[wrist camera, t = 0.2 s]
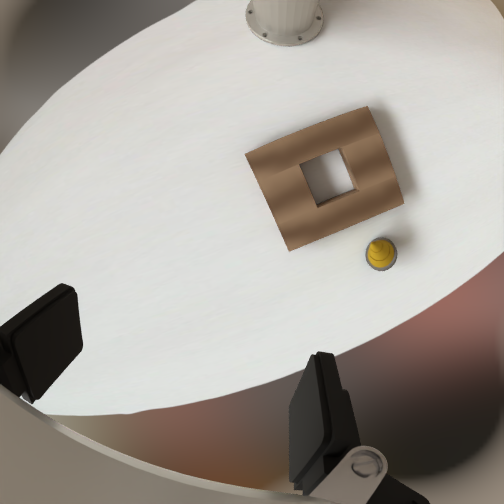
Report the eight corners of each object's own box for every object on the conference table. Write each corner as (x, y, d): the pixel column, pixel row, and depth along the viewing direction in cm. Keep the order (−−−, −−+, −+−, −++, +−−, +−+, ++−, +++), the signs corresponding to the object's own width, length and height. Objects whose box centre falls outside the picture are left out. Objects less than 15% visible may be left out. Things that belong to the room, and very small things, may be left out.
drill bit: (368, 271, 47) (350, 257, 40) (374, 242, 48) (358, 223, 40) (396, 276, 44) (385, 263, 36) (402, 246, 44) (392, 226, 37)
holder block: (246, 154, 42) (244, 154, 40) (361, 109, 38) (367, 105, 36) (288, 246, 46) (289, 251, 44) (397, 200, 42) (404, 203, 40)
